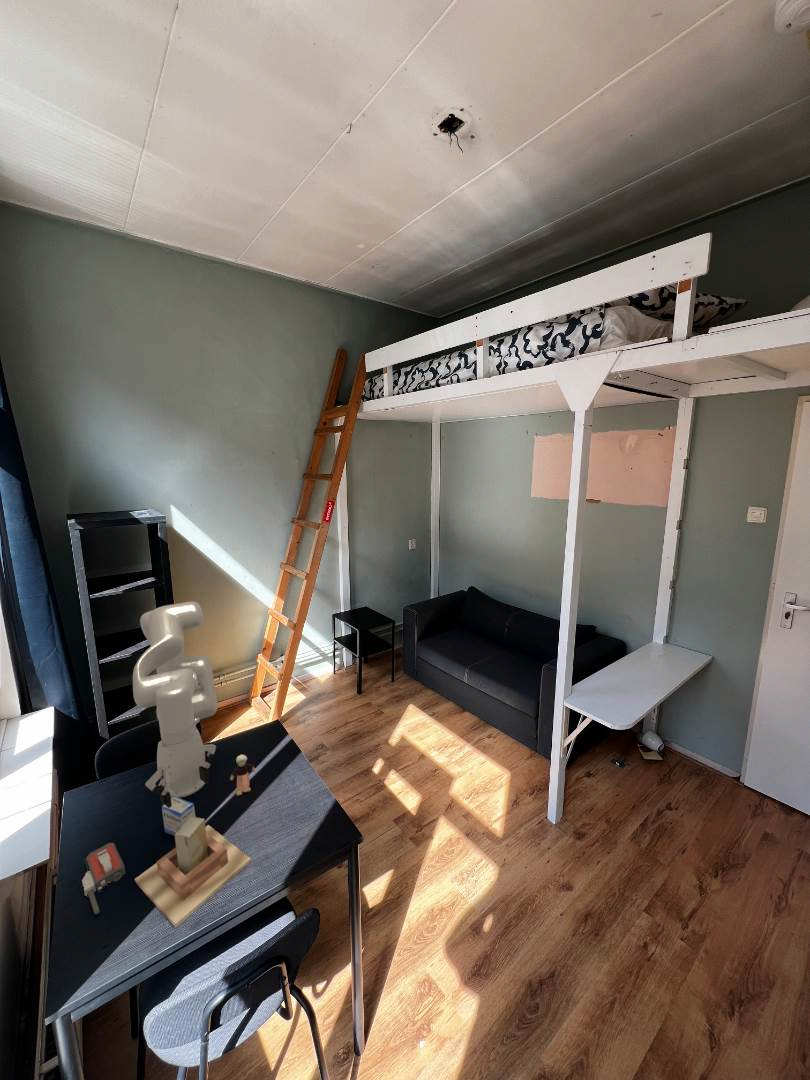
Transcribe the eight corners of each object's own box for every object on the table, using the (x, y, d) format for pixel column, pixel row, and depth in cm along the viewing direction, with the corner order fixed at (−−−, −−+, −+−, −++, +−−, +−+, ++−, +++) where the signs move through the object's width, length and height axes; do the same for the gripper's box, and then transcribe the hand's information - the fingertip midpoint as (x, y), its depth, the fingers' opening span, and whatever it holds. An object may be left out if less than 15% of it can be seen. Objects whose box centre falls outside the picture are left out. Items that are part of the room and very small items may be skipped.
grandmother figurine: (235, 799, 137) (231, 763, 135) (231, 793, 140) (226, 757, 137) (258, 787, 142) (255, 752, 140) (254, 781, 145) (250, 747, 142)
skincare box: (193, 880, 109) (188, 838, 107) (179, 877, 110) (173, 835, 108) (210, 857, 115) (205, 817, 113) (196, 855, 116) (190, 815, 114)
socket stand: (135, 882, 110) (132, 865, 109) (208, 827, 126) (206, 812, 125) (175, 928, 99) (173, 909, 98) (250, 861, 115) (249, 845, 114)
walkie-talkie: (76, 868, 115) (92, 921, 101) (73, 854, 114) (89, 905, 101) (114, 847, 121) (135, 894, 108) (112, 833, 121) (132, 879, 107)
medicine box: (164, 832, 125) (160, 806, 124) (177, 821, 129) (174, 795, 128) (184, 840, 122) (181, 814, 121) (197, 828, 126) (194, 802, 125)
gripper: (203, 710, 116) (210, 767, 119) (133, 745, 102) (143, 808, 105) (219, 719, 112) (226, 778, 115) (148, 757, 98) (158, 822, 101)
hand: (186, 792), depth 110 cm, fingers open, 9 cm apart
